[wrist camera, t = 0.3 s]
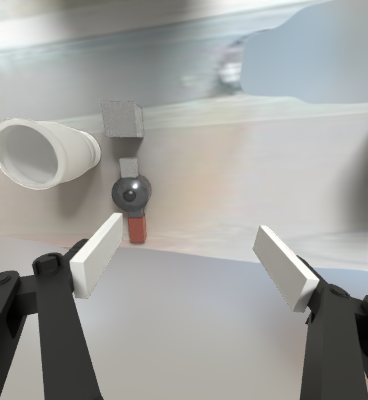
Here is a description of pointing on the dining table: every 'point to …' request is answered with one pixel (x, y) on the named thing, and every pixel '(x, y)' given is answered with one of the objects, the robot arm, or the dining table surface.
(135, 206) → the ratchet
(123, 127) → the grey cube
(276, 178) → the dining table surface
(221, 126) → the dining table surface
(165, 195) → the dining table surface
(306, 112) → the dining table surface
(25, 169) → the jar
